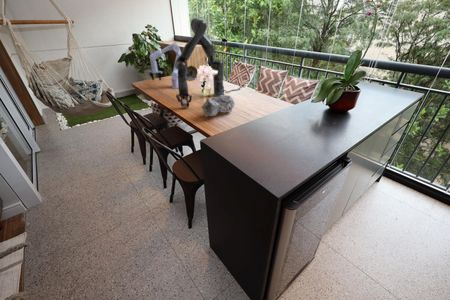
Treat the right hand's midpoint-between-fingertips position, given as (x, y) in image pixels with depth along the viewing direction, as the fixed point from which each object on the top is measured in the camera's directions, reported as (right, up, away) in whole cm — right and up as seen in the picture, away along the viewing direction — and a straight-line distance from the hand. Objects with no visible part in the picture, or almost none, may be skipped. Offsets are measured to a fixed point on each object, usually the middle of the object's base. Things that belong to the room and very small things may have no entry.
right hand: (185, 106), depth 177 cm
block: (0, 0, 0) cm, 1 cm away
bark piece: (-13, +56, +85) cm, 103 cm away
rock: (+30, -8, -10) cm, 33 cm away
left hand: (-39, +37, +41) cm, 67 cm away
